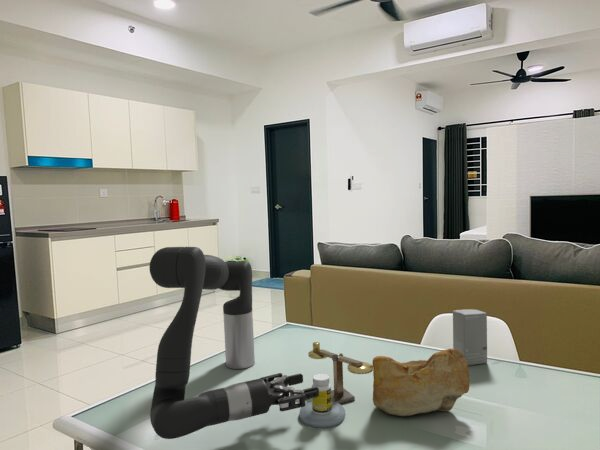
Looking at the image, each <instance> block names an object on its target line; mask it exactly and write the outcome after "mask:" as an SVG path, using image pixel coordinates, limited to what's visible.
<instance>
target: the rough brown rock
mask: <svg viewBox="0 0 600 450" xmlns="http://www.w3.org/2000/svg"><path fill="white" fill-rule="evenodd" d="M372 366H373V371H372V372H373V375H372V376H373V385H372V389H373V390H372V403H373V405H374V407H376V408H377V409H380V410H382V411H383V412H385V413H386V414H388V415H393V416H398V417H409V416H414V415H417V414H427V413H430V412H434V411H440V412H450V411H451V410H452V409H453V407H454V405H455V403H456V402H457V399H458V400H459V398H461V397H462V396H463V395H465V394H467V393H469V390H470V385H471V384H470V381H471V380H470V379H471V378H470V374H469V368H468V366H467V362H466V360H465V358H464V356H463V354H462V353H461V351H459V350H457V349H453V348H448V349H443V350H440V351H436V352H435V353H433V354H432V355H430V356H429V358H428V359H427V360H426V359H419V360H409V361H405V362H400V361H396V360H395V359H394V358H393V357H389V356H385V355H378V356H374V357H373V359H372Z"/></svg>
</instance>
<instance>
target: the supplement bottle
mask: <svg viewBox="0 0 600 450" xmlns="http://www.w3.org/2000/svg"><path fill="white" fill-rule="evenodd" d="M330 382H331V381H330V376H329V375H328V374H326V373H318V374H314V375H313V377H312V385H311V388H312V387H318V388H319V396H318V397H315V398H311V402H312V410H313V412H314V413H315V414H318V415H326V414H329V413H330V412H331V410H332V402H331V390H332V385H331V383H330Z"/></svg>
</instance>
